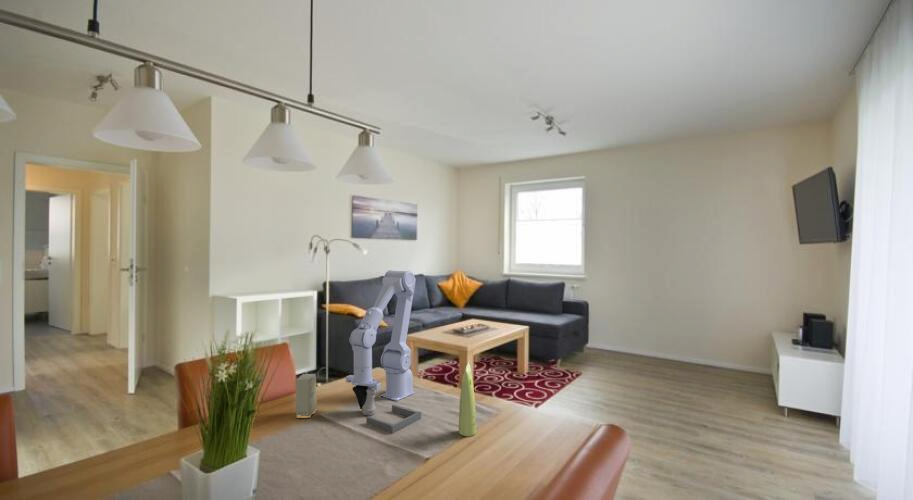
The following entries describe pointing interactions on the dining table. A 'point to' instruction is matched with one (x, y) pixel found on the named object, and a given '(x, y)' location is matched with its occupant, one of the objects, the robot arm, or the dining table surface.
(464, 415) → the light green tall cone
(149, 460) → the dining table surface
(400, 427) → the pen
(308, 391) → the skincare box
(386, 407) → the dining table surface
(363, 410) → the rook chess piece
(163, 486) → the dining table surface
